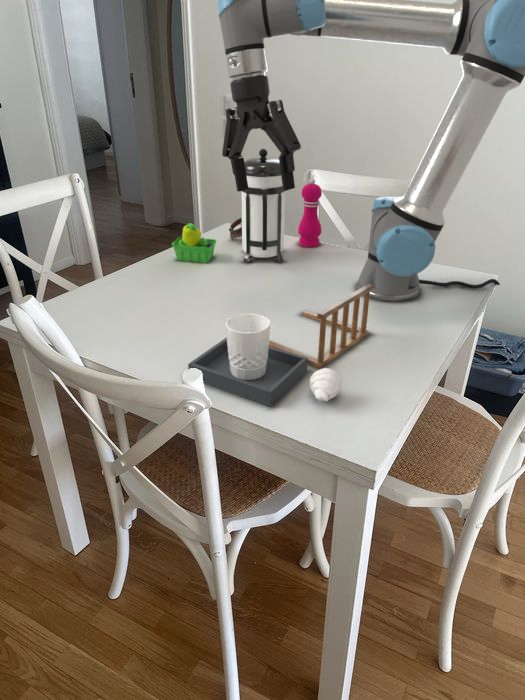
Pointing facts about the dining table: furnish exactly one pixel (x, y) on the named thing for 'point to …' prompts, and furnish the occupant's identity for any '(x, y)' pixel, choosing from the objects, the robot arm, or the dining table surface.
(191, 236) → the fruit basket
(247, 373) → the white cup
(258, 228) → the coffee press
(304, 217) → the pepper mill
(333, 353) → the drying rack
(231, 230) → the pottery mug
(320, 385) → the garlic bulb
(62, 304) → the dining table surface
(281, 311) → the dining table surface
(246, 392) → the dark grey tray
